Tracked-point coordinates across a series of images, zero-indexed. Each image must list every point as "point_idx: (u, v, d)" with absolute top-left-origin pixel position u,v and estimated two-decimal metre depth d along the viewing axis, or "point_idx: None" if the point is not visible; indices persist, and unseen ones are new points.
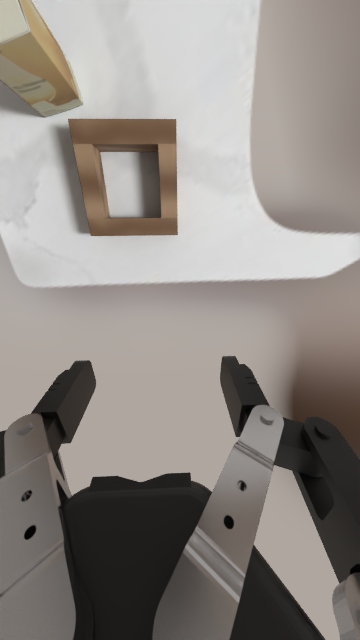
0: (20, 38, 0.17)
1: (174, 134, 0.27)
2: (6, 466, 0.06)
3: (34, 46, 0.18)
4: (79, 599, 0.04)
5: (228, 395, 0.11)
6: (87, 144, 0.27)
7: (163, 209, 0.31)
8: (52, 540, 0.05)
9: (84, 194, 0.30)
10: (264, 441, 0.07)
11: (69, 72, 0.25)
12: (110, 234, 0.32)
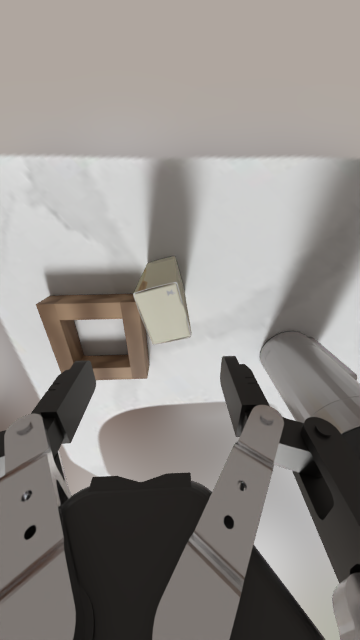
0: (149, 335, 0.20)
1: (138, 377, 0.34)
2: (6, 466, 0.06)
3: None
4: (79, 599, 0.04)
5: (228, 395, 0.11)
6: (121, 315, 0.28)
7: None
8: (52, 540, 0.05)
9: (78, 305, 0.28)
10: (264, 441, 0.07)
11: None
12: (44, 324, 0.29)
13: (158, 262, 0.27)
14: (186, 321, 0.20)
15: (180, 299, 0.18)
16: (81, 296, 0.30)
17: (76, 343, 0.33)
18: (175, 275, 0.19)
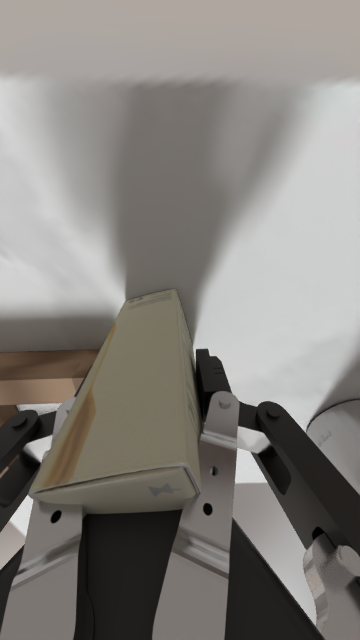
0: None
1: None
2: (52, 441, 0.07)
3: None
4: (79, 599, 0.04)
5: (199, 385, 0.11)
6: None
7: None
8: (52, 540, 0.05)
9: None
10: (225, 424, 0.08)
11: None
12: None
13: (143, 305, 0.13)
14: None
15: None
16: (9, 356, 0.17)
17: None
18: (179, 391, 0.06)
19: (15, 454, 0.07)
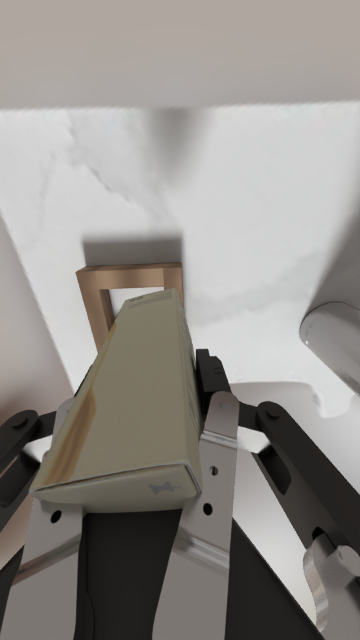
0: None
1: None
2: (52, 441, 0.07)
3: None
4: (79, 599, 0.04)
5: (199, 385, 0.11)
6: (163, 282, 0.27)
7: None
8: (52, 540, 0.05)
9: (119, 272, 0.26)
10: (225, 424, 0.08)
11: None
12: (83, 294, 0.28)
13: (143, 304, 0.13)
14: None
15: None
16: (119, 265, 0.29)
17: (111, 317, 0.32)
18: (180, 390, 0.06)
19: (15, 454, 0.07)
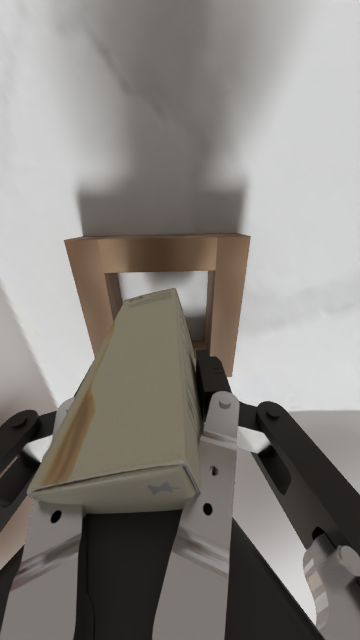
0: None
1: None
2: None
3: None
4: (79, 599, 0.04)
5: (199, 385, 0.11)
6: (215, 263, 0.16)
7: None
8: (52, 540, 0.05)
9: (140, 242, 0.15)
10: (225, 424, 0.08)
11: None
12: (77, 281, 0.16)
13: (143, 304, 0.13)
14: None
15: None
16: (138, 235, 0.17)
17: None
18: (179, 390, 0.06)
19: (15, 454, 0.07)
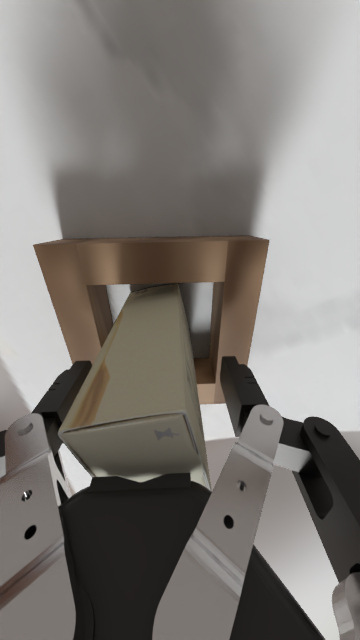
0: None
1: (224, 401, 0.18)
2: (7, 466, 0.06)
3: None
4: (79, 599, 0.04)
5: (228, 395, 0.11)
6: (224, 273, 0.13)
7: None
8: (52, 540, 0.05)
9: (131, 247, 0.12)
10: (263, 441, 0.07)
11: None
12: (52, 295, 0.13)
13: (148, 296, 0.15)
14: (203, 478, 0.08)
15: (192, 444, 0.07)
16: (129, 238, 0.14)
17: None
18: (180, 363, 0.08)
19: None
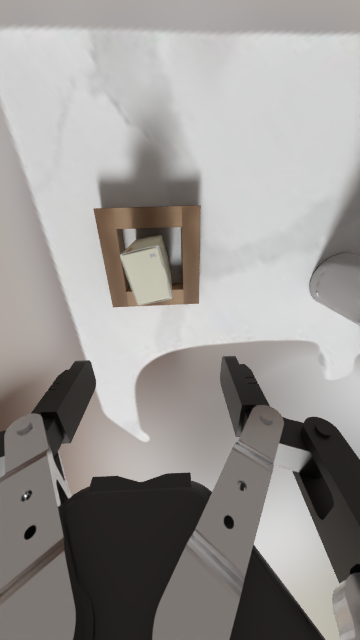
0: (134, 296, 0.23)
1: (189, 302, 0.33)
2: (6, 466, 0.06)
3: None
4: (79, 599, 0.04)
5: (228, 395, 0.11)
6: (181, 222, 0.27)
7: None
8: (52, 540, 0.05)
9: (137, 209, 0.26)
10: (264, 441, 0.07)
11: None
12: (100, 234, 0.27)
13: (145, 238, 0.29)
14: (167, 283, 0.22)
15: (161, 262, 0.21)
16: None
17: None
18: (158, 242, 0.22)
19: None
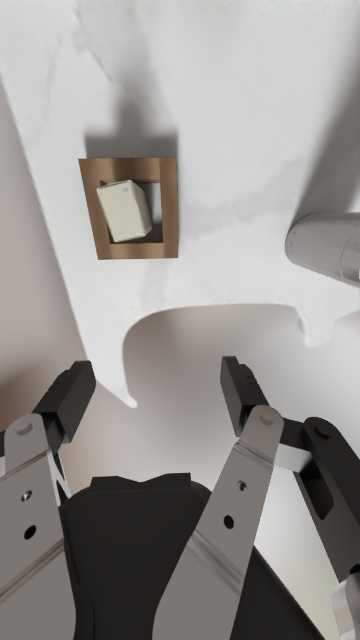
0: (111, 232, 0.25)
1: (169, 256, 0.35)
2: (6, 466, 0.06)
3: None
4: (79, 599, 0.04)
5: (228, 395, 0.11)
6: (159, 174, 0.29)
7: (116, 246, 0.34)
8: (52, 540, 0.05)
9: (118, 160, 0.29)
10: (264, 441, 0.07)
11: None
12: (84, 185, 0.30)
13: None
14: (140, 219, 0.25)
15: (134, 197, 0.23)
16: None
17: None
18: (132, 182, 0.24)
19: None
